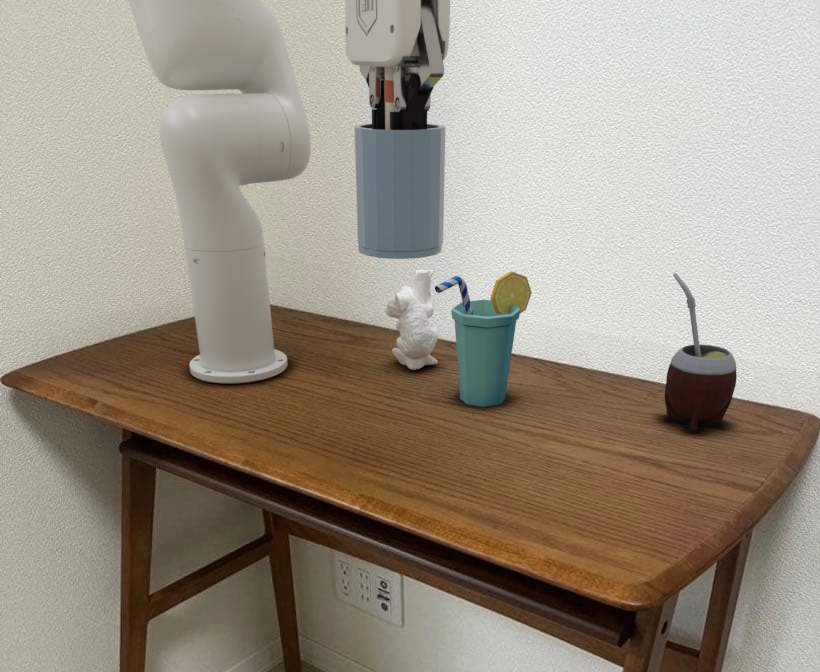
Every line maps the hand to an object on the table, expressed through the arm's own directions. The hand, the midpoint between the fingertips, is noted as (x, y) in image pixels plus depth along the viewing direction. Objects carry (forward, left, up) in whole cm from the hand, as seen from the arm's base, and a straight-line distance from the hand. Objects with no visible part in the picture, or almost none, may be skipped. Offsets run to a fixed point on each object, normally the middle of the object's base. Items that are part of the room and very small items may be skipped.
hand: (399, 160), depth 70 cm
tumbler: (0, 0, -7) cm, 7 cm away
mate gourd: (+8, +31, -27) cm, 42 cm away
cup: (-9, +14, -27) cm, 32 cm away
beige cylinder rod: (0, 0, -7) cm, 7 cm away
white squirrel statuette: (-24, +14, -27) cm, 39 cm away
